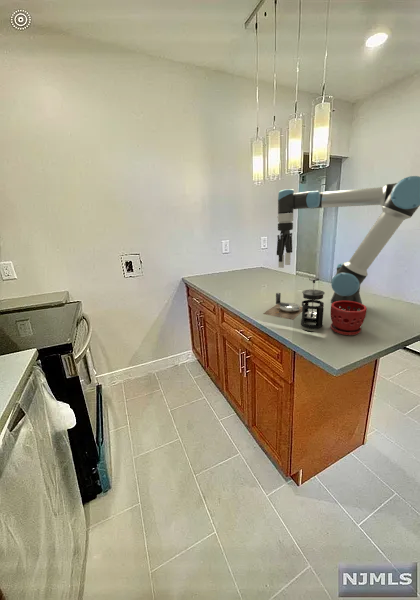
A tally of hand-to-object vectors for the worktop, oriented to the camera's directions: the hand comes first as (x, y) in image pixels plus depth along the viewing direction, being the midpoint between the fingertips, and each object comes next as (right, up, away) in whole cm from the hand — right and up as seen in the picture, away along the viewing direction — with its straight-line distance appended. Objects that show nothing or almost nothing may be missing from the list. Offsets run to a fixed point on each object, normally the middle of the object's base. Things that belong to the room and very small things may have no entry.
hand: (284, 266), depth 134 cm
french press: (+6, -31, -22) cm, 39 cm away
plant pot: (+18, -32, -27) cm, 46 cm away
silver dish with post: (+1, -23, -2) cm, 23 cm away
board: (-1, -26, -3) cm, 26 cm away
